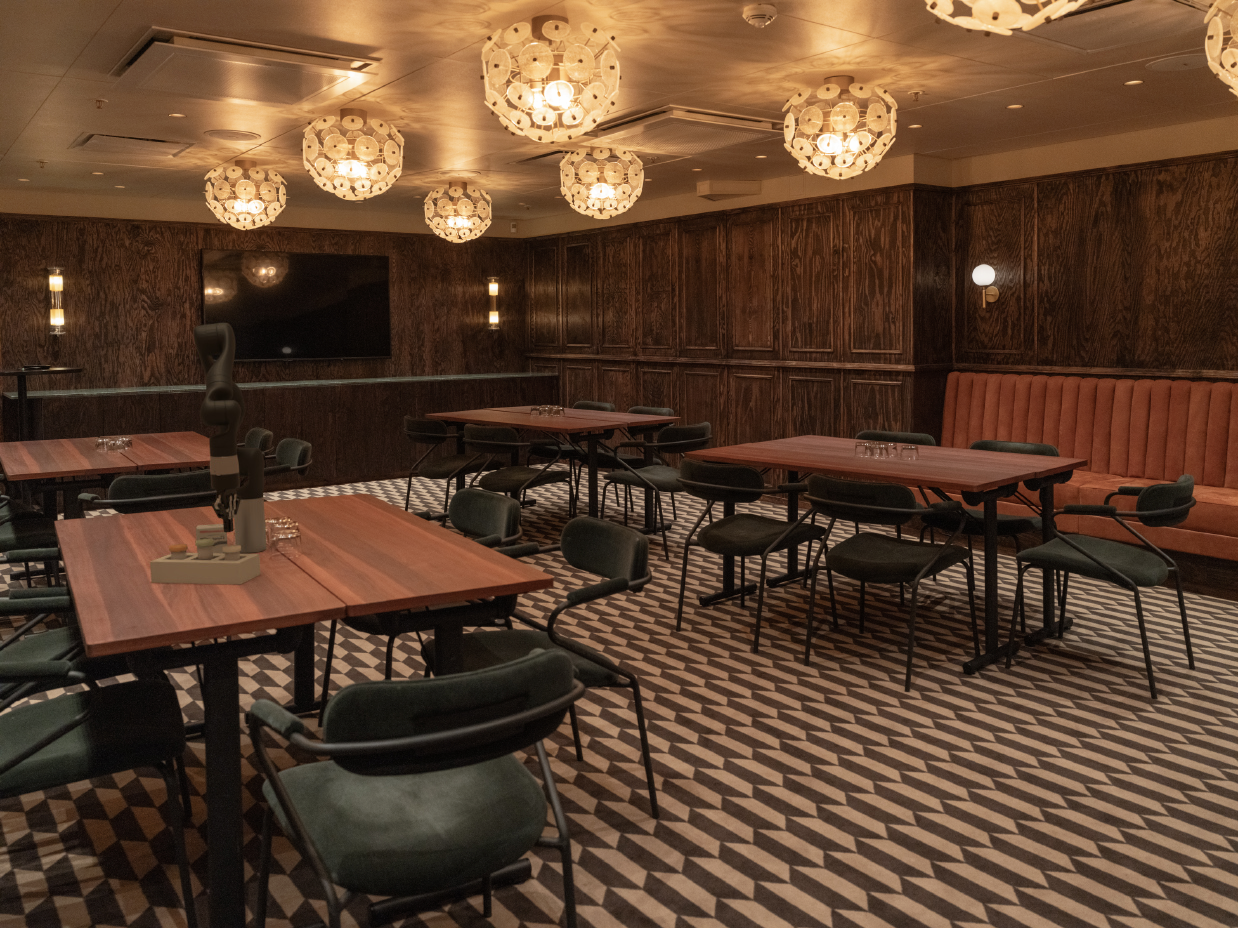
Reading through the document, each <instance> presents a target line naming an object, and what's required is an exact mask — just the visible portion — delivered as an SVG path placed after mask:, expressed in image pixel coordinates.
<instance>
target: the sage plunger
mask: <svg viewBox="0 0 1238 928" xmlns="http://www.w3.org/2000/svg"><path fill="white" fill-rule="evenodd" d="M213 545H214V540H213V539H201V540H195V547H196V553H197V552H198V560H212V559H213Z"/></svg>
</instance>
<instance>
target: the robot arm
mask: <svg viewBox="0 0 1238 928" xmlns="http://www.w3.org/2000/svg"><path fill="white" fill-rule="evenodd" d="M192 334H193V341H194V345H195V348H196V351H197V353H198V357H199V360H200V362H201V366H202V369H203V373H204V375H205V388H206V389H205V392H206V394H205V397H204V399H203V401H202V404H201V405H200V406H201V407H200V410H199V417H200V420H201V422H202V423H203V424H204V425H205V426H206V427H207V426H209V427H218V428H217V429H218V431H219V433H217V434H213V435H211V436H210V437H209V438H208V441H209V443H208V444H209V458H210V459H209V468H210V469H209V471H210V474H209V475H210V485H211V489H212V490H215V492H216V493H215V494H216V495H215V498H216V501H215V502H212V503H211V507H212V509H213V511H214V513H215V515H216V517H217V518H218V519H221V520H222V524H223V527H224V532H227V533H232V532H234V539H235V540H234V542H235V544H234V545H240V546H241V551H240V554H253V553H258V552H263V551H266V550H267V547H268V546H267V530H266V529H267V527H266V519H265V500H264V499H265V498H264V497H265V496H264V490H265V460H264V458H265V457H264V453H263V451H262V450H261V449H260V448H258V447H239V446H238V441H237V435H238V431H239V429H240V426H241V425H242V423H243V421H244V418H245V415H246V413H247V412H246V410H247V409H246V405H245V401H244V396H243V393H242V390H241V388H240V387H239V385H238V384H237V383H236V382H235V381H233V369H234V362H235V355H236V336H235V333H234V329H233V327H232V325H231V324H230V323H228V322H217V323H207V324H201V325H196V326H195V327H194V328H193V333H192ZM217 355H219V357H218V358H217V359H216V361H215V360H214V358H213V356H217ZM241 477H242V478H243V477H244V478H247V477H248V481H247V482H246V484H244V485H241V482H240V480H241V479H240V478H241Z"/></svg>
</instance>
